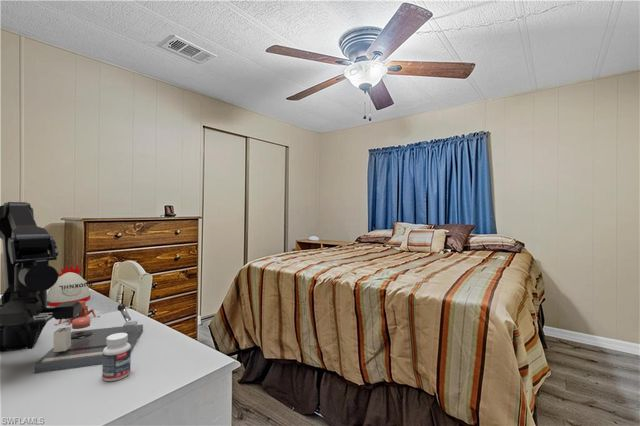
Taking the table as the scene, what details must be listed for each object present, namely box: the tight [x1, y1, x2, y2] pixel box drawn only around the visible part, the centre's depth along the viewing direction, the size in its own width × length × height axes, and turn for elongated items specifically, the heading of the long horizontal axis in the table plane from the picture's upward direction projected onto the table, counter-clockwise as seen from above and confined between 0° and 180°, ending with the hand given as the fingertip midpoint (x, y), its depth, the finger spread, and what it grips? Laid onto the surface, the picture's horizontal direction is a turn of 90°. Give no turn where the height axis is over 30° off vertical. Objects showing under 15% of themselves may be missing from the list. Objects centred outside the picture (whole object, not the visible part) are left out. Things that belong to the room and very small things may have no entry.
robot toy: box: [53, 280, 101, 326], centre depth 106 cm, size 15×12×13 cm
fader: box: [53, 326, 72, 352], centre depth 76 cm, size 2×3×5 cm
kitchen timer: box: [47, 263, 91, 307], centre depth 124 cm, size 14×14×15 cm
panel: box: [33, 320, 144, 374], centre depth 82 cm, size 18×20×4 cm
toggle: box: [116, 303, 132, 323], centre depth 89 cm, size 2×2×5 cm
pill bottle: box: [101, 333, 132, 382], centre depth 69 cm, size 5×5×9 cm
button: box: [71, 316, 91, 330], centre depth 86 cm, size 4×4×2 cm
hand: (30, 348), depth 74 cm, fingers closed
